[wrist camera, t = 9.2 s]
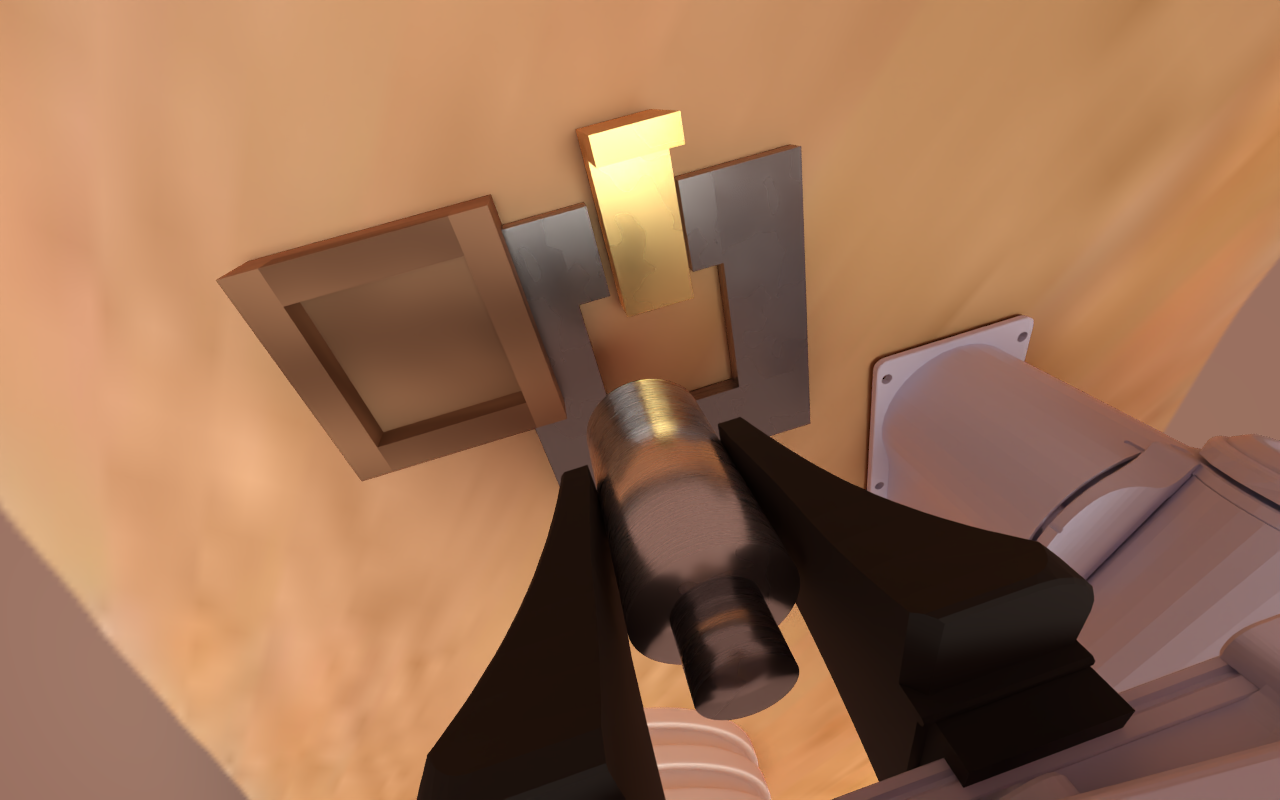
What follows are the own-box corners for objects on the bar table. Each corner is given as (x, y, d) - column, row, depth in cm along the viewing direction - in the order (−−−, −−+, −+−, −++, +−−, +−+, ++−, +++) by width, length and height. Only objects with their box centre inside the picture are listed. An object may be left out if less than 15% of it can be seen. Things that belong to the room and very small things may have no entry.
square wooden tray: (563, 393, 21) (567, 418, 19) (374, 449, 20) (361, 481, 18) (490, 194, 16) (487, 205, 15) (247, 261, 16) (215, 280, 14)
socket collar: (802, 414, 24) (810, 423, 23) (564, 488, 23) (565, 500, 23) (790, 144, 17) (801, 146, 17) (459, 237, 17) (456, 242, 16)
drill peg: (708, 456, 15) (844, 702, 9) (604, 490, 15) (668, 767, 9) (690, 363, 13) (844, 592, 7) (571, 401, 13) (621, 671, 7)
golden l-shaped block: (681, 284, 19) (711, 317, 16) (620, 302, 19) (638, 338, 16) (650, 109, 16) (679, 110, 13) (575, 129, 16) (588, 135, 13)
